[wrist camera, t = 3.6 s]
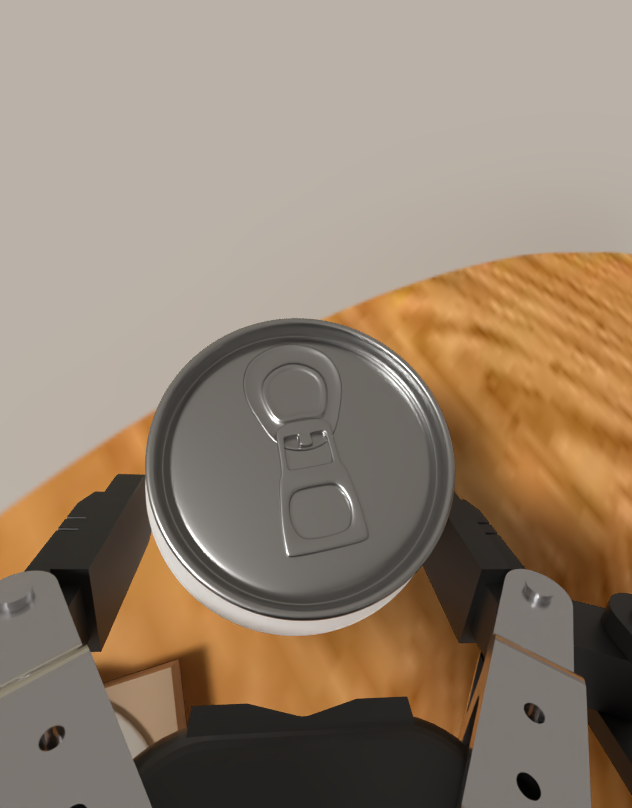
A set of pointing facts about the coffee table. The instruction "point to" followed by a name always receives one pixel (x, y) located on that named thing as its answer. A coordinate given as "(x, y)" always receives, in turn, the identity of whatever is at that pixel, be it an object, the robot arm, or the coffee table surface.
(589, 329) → the coffee table surface
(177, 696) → the board
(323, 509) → the can
